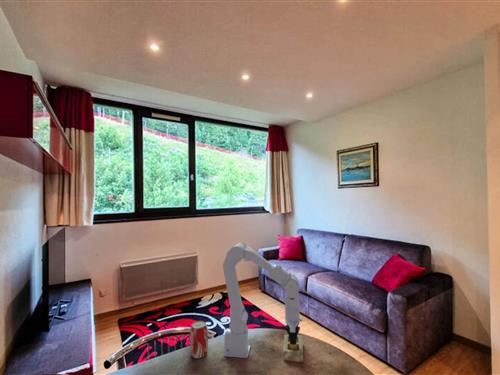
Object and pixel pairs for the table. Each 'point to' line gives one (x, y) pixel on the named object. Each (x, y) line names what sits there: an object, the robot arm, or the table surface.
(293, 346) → the peg
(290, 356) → the hole block
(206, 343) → the soda can
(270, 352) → the table surface
